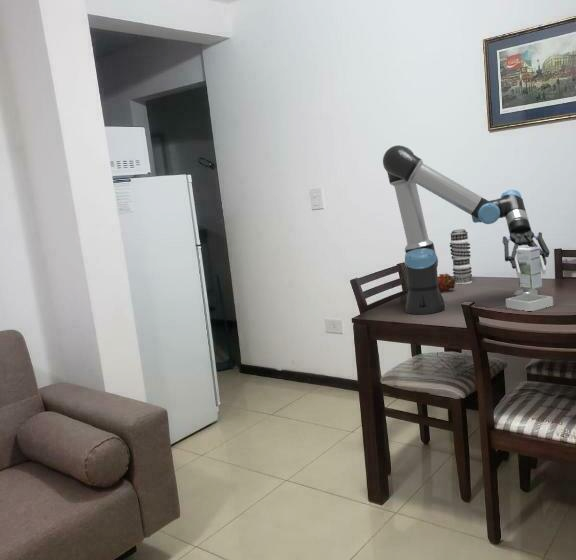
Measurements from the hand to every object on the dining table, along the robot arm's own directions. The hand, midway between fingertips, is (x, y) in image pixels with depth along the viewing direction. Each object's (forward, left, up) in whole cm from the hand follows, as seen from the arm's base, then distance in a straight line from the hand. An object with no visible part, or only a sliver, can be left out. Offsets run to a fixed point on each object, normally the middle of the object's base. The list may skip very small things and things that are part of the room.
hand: (531, 273), depth 196 cm
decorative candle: (+20, +61, -13) cm, 66 cm away
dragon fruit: (+3, +54, -13) cm, 56 cm away
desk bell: (+12, +15, -13) cm, 23 cm away
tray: (+1, +3, -13) cm, 13 cm away
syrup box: (+2, +3, -6) cm, 7 cm away
